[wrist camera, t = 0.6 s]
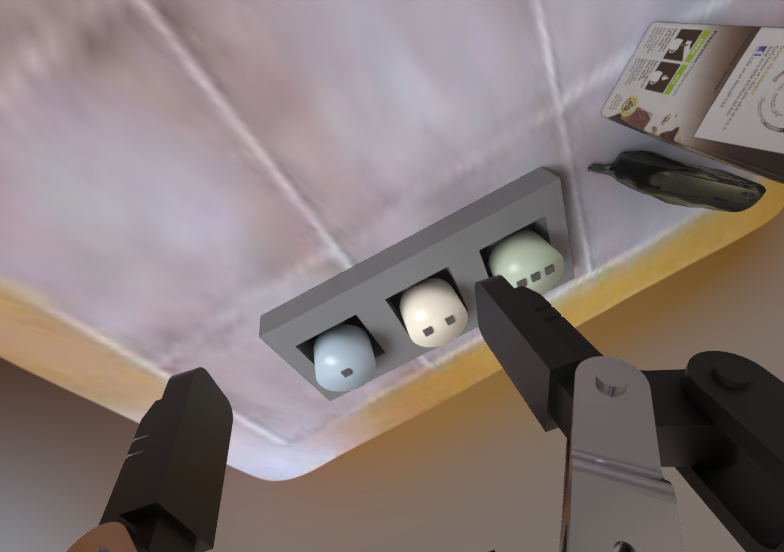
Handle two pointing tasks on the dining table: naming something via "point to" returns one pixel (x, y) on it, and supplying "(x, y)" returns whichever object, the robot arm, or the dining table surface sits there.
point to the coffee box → (708, 93)
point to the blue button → (343, 358)
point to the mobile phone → (682, 182)
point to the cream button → (432, 312)
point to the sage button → (527, 261)
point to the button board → (417, 276)
